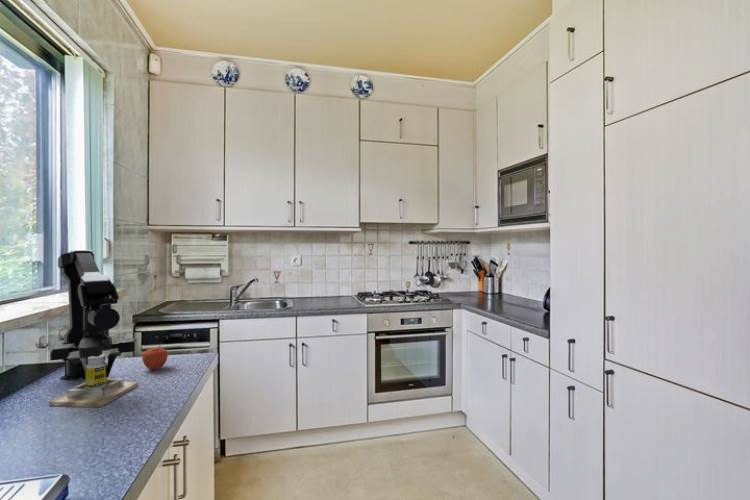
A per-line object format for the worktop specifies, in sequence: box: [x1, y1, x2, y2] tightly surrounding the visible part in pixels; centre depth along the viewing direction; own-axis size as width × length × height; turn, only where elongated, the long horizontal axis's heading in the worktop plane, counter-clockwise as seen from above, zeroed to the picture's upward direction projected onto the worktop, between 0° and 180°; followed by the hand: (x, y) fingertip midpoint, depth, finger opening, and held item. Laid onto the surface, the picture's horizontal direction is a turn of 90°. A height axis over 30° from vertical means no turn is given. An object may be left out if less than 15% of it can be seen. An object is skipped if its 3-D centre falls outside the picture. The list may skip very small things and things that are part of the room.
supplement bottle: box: [85, 354, 108, 389], centre depth 101 cm, size 5×5×8 cm
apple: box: [142, 345, 169, 371], centre depth 121 cm, size 7×7×8 cm
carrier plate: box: [48, 377, 139, 408], centre depth 101 cm, size 14×14×3 cm
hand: (96, 378), depth 101 cm, fingers closed on supplement bottle, 5 cm apart
